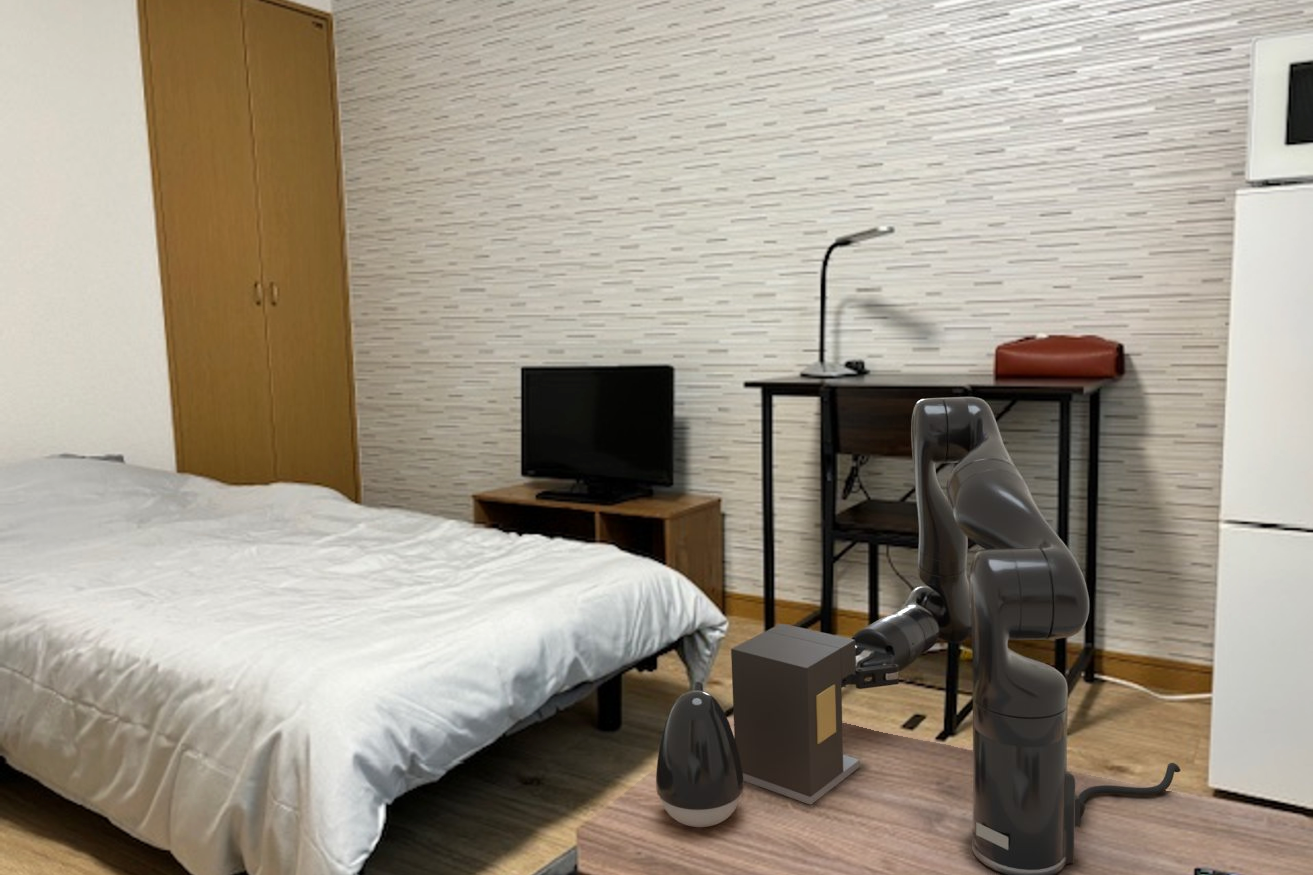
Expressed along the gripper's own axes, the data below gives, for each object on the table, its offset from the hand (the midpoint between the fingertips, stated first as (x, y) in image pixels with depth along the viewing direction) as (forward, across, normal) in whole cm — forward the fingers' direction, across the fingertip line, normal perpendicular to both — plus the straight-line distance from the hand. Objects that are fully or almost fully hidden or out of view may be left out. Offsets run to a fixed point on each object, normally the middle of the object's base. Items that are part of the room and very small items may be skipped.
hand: (822, 686), depth 128 cm
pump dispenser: (+21, -4, +10) cm, 24 cm away
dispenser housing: (+6, 0, +9) cm, 11 cm away
